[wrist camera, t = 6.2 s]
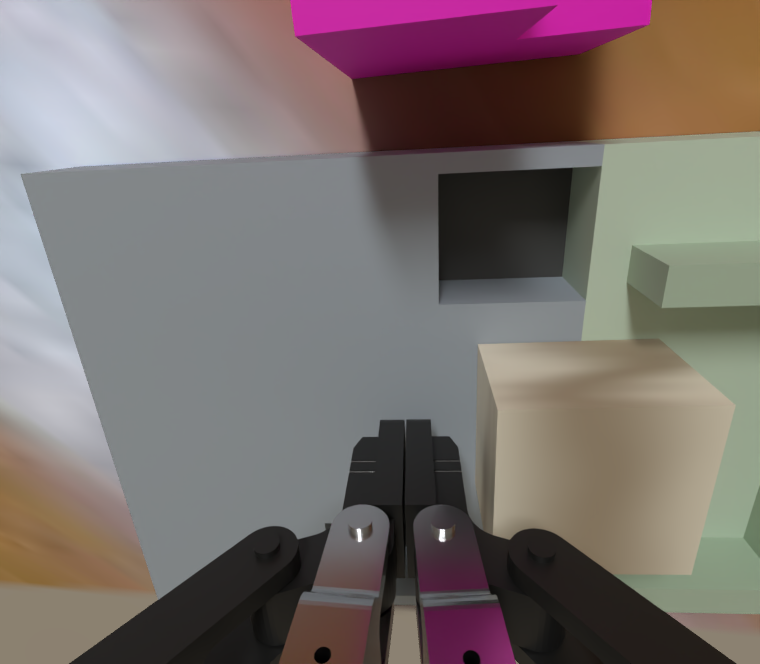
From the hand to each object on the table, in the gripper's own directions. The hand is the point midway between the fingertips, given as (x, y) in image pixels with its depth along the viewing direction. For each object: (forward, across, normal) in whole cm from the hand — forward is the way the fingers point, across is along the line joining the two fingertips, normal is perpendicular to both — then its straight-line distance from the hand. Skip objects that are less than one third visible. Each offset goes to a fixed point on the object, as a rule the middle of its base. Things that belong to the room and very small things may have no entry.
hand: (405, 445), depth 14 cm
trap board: (+3, -1, 0) cm, 4 cm away
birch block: (+1, -5, 0) cm, 5 cm away
